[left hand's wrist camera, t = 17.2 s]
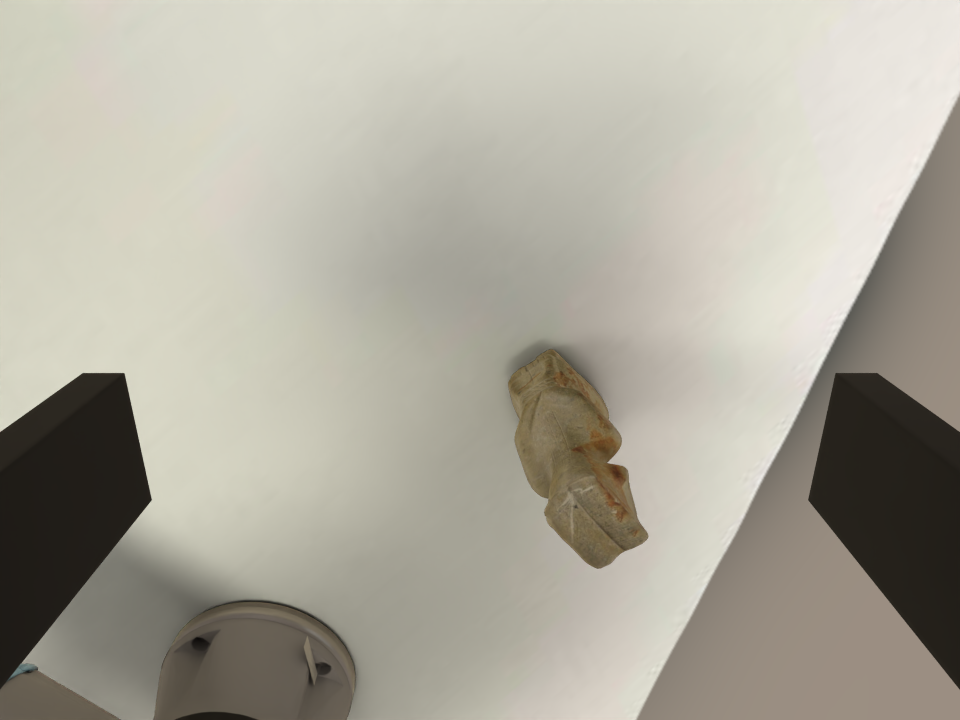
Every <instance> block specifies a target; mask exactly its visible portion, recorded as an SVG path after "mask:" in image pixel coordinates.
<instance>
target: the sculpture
mask: <svg viewBox="0 0 960 720" xmlns="http://www.w3.org/2000/svg"><path fill="white" fill-rule="evenodd" d="M508 387H509V392H510V396H511V399H512V403H513V406H514V408H515V411H516V413H517V415H518V417H519V419H520V421H519V424H518V427H517V430H516V433H515V444H516V448H517V451H518V454H519V457H520V459H521V462H522V465H523V468H524V471H525V474H526V477H527V479H528V482H529V484H530V485H531V487H532V488H533V490H534V491H535V492H536V493H537V494H539V495H540V496H542V497H544V498H549V499H548V504H547V506H546V508H545V511H544V514H545V516H546V519H547V522H548V524H549V526H551V527H552V528H553V529H554V530H555V531H556V532H557V533H558V535H559V536H560V537H561V538H562V539H563V540H564V541H565V542H566V543H567V544H568V545H569V546H570V547H571V548H572V549H573V550H574V551H575V552H576V553H577V554H578V555H579V556H580V557H581V558H582V559H583V560H584V561H585V562H586V563H588V564H589V565H591V566H593V567H595V568H597V569H600V568H602V567H605V566H607V565H609V564H611V563H612V562H613V561H614V559H615V558H616V557H617V556H618V555H619V554H621V553H622V552H624V551H627V550H629V549H632V548H634V547H636V546H638V545H640V544H642V543H644V542H645V541H646V540H647V539H648V533H647V532H646V530H645V529H644V528H643V526H642V525H641V524H640V522H639V520H638V518H637V513H636V509H635V505H634V501H633V497H632V494H631V490H630V485H629V475H628V470H627V469H626V468H625V467H623V466H620V465H614V464H608V463H607V462H608V461H609V460H610V459H611V458H612V457H613V456H614V455H615V454H616V453H617V451H618V450H619V448H620V446H621V443H622V438H621V435H620V433H619V432H618V431H617V429H616V428H615V427H614V426H613V425H612V424H611V422H610V421H609V414H608V409H607V407H606V405H605V403H604V401H603V400H602V398H601V396H600V395H599V394H598V393H597V391H596V390H595V389H594V388H593V387H592V386H591V385H590V384H589V383H588V382H587V381H586V380H585V379H584V378H583V377H582V376H580V375H579V374H578V373H577V372H576V371H575V370H574V369H573V368H572V367H571V366H570V365H569V364H568V363H567V362H566V361H565V360H564V359H563V358H562V357H561V356H560V355H559V354H558V353H557V352H556V351H554V350H553V349H550V350H547V351H546V352H544V353H542V354H540V355H539V356H538V357H537V358H536V360H534V361H533V362H531V363H530V364H528V365H527V366H525V367H521V368H520V369H519V370H518V371H517V372H515V373H514V374H513V375H512V376H511V379H510V380H509V382H508Z"/></svg>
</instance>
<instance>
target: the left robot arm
mask: <svg viewBox="0 0 960 720" xmlns="http://www.w3.org/2000/svg"><path fill="white" fill-rule="evenodd" d="M151 500H152V499H151V494H150V490H149V485H148V480H147V476H146V471H145V466H144V462H143V457H142V453H141V448H140V443H139V439H138V434H137V429H136V425H135V420H134V416H133V411H132V406H131V402H130V397H129V392H128V388H127V383H126V378H125V374H124V373H82V374H81V375H80V376H78V377H77V378H75V379H74V380H73V381H71V382H70V383H68V384H67V385H66V386H64V387H63V388H61V389H60V390H59V391H57V392H56V393H54V394H53V395H52V396H50V397H49V398H47V399H46V400H45V401H43V402H42V403H40V404H39V405H38V406H36V407H35V408H33V409H32V410H31V411H29V412H28V413H26V414H25V415H24V416H22V417H21V418H19V419H18V420H17V421H15V422H14V423H12V424H11V425H10V426H8V427H7V428H5V429H4V430H3V431H1V432H0V720H120V719H119V718H117V717H115V716H114V715H112V714H110V713H108V712H107V711H105V710H103V709H102V708H100V707H98V706H97V705H95V704H93V703H91V702H90V701H88V700H86V699H85V698H83V697H81V696H80V695H78V694H76V693H75V692H73V691H71V690H69V689H68V688H66V687H64V686H63V685H61V684H59V683H58V682H56V681H54V680H52V679H51V678H49V677H47V676H46V675H44V674H42V673H41V672H39V671H38V667H37V666H35V665H33V664H22V662H23V660H24V659H25V658H26V657H27V655H28V654H29V653H30V652H31V650H32V649H33V648H34V647H35V645H36V644H37V643H38V642H39V640H40V639H41V638H42V637H43V635H44V634H45V633H46V632H47V630H48V629H49V628H50V627H51V625H52V624H53V623H54V622H55V620H56V619H57V618H58V617H59V615H60V614H61V613H62V612H63V610H64V609H65V608H66V607H67V605H68V604H69V603H70V602H71V600H72V599H73V598H74V597H75V595H76V594H77V593H78V592H79V590H80V589H81V588H82V587H83V585H84V584H85V583H86V582H87V580H88V579H89V578H90V577H91V575H92V574H93V573H94V572H95V570H96V569H97V568H98V567H99V565H100V564H101V563H102V562H103V560H104V559H105V558H106V557H107V555H108V554H109V553H110V552H111V550H112V549H113V548H114V547H115V545H116V544H117V543H118V542H119V540H120V539H121V538H122V537H123V535H124V534H125V533H126V532H127V530H128V529H129V528H130V527H131V525H132V524H133V523H134V522H135V520H136V519H137V518H138V517H139V515H140V514H141V513H142V512H143V510H144V509H145V508H146V507H147V505H148V504H149V503H150V502H151ZM808 500H809V502H810V503H811V504H812V505H813V507H814V508H815V509H816V510H817V512H818V513H819V514H820V515H821V517H822V518H823V519H824V520H825V522H826V523H827V524H828V525H829V527H830V528H831V529H832V530H833V532H834V533H835V534H836V535H837V537H838V538H839V539H840V540H841V542H842V543H843V544H844V545H845V547H846V548H847V549H848V550H849V552H850V553H851V554H852V555H853V557H854V558H855V559H856V560H857V562H858V563H859V564H860V565H861V567H862V568H863V569H864V570H865V572H866V573H867V574H868V575H869V577H870V578H871V579H872V580H873V582H874V583H875V584H876V585H877V587H878V588H879V589H880V590H881V592H882V593H883V594H884V595H885V597H886V598H887V599H888V600H889V602H890V603H891V604H892V605H893V607H894V608H895V609H896V610H897V612H898V613H899V614H900V615H901V617H902V618H903V619H904V620H905V622H906V623H907V624H908V625H909V627H910V628H911V629H912V630H913V632H914V633H915V634H916V635H917V637H918V638H919V639H920V640H921V642H922V643H923V644H924V645H925V647H926V648H927V649H928V650H929V652H930V653H931V654H932V655H933V657H934V658H935V659H936V660H937V662H938V663H939V664H940V665H941V667H942V668H943V669H944V670H945V672H946V673H947V674H948V675H949V677H950V678H951V679H952V680H953V682H954V683H955V684H956V685H957V687H958V688H959V689H960V432H959V431H957V430H956V429H955V428H953V427H952V426H950V425H949V424H948V423H946V422H945V421H943V420H942V419H941V418H939V417H938V416H936V415H935V414H934V413H932V412H931V411H929V410H928V409H927V408H925V407H924V406H922V405H921V404H920V403H918V402H917V401H915V400H914V399H913V398H911V397H910V396H908V395H907V394H906V393H904V392H903V391H901V390H900V389H898V388H897V387H896V386H894V385H893V384H892V383H890V382H889V381H887V380H886V379H885V378H883V377H882V376H880V375H879V374H878V373H836V374H835V378H834V383H833V388H832V392H831V397H830V402H829V406H828V411H827V416H826V420H825V425H824V429H823V434H822V439H821V443H820V448H819V453H818V457H817V462H816V467H815V471H814V476H813V480H812V485H811V490H810V495H809V499H808ZM354 689H355V671H354V666H353V663H352V660H351V657H350V655H349V653H348V651H347V650H346V648H345V646H344V645H343V644H342V642H341V641H340V640H339V639H338V637H337V636H336V635H335V634H334V633H333V632H332V631H330V630H329V629H328V628H327V627H326V626H324V625H323V624H322V623H320V622H319V621H317V620H315V619H314V618H312V617H310V616H308V615H306V614H304V613H302V612H300V611H297V610H295V609H292V608H289V607H285V606H281V605H277V604H272V603H264V602H238V603H231V604H226V605H222V606H218V607H215V608H212V609H210V610H208V611H205V612H203V613H202V614H200V615H198V616H196V617H195V618H194V619H192V620H191V621H190V622H189V623H187V624H186V625H185V626H184V627H183V629H182V630H181V631H180V632H179V634H178V635H177V637H176V638H175V640H174V642H173V644H172V646H171V647H170V649H169V651H168V653H167V655H166V657H165V659H164V661H163V664H162V668H161V673H160V678H159V686H158V693H157V700H156V707H155V714H154V720H346V719H347V717H348V714H349V712H350V708H351V703H352V698H353V694H354Z"/></svg>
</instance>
